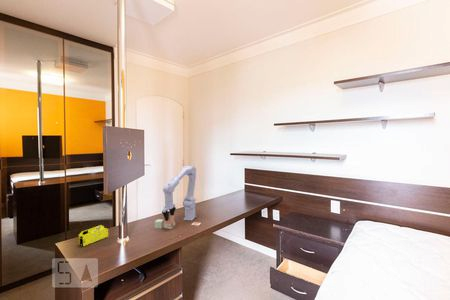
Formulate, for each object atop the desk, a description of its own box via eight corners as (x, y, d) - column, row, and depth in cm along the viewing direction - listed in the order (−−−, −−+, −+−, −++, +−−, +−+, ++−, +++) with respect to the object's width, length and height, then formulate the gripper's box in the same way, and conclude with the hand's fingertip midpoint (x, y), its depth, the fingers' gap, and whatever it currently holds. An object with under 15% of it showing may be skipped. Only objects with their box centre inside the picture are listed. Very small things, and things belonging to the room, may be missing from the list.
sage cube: (157, 225, 168) (157, 219, 168) (163, 225, 168) (163, 219, 167) (154, 228, 163) (154, 221, 163) (161, 228, 163) (161, 221, 162)
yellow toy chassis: (103, 235, 151) (103, 224, 151) (108, 237, 149) (108, 225, 148) (78, 245, 137) (78, 232, 137) (83, 247, 135) (83, 234, 134)
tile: (194, 222, 173) (193, 221, 173) (201, 223, 171) (201, 222, 171) (191, 224, 168) (191, 224, 168) (198, 225, 167) (198, 224, 167)
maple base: (168, 225, 169) (168, 220, 169) (175, 226, 167) (175, 221, 167) (163, 228, 164) (163, 223, 163) (170, 229, 161) (170, 224, 161)
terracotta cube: (168, 221, 168) (168, 214, 168) (174, 221, 167) (174, 215, 166) (164, 223, 163) (164, 217, 163) (170, 224, 162) (170, 217, 162)
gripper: (169, 198, 172) (169, 215, 173) (158, 203, 159) (159, 221, 159) (177, 198, 170) (177, 215, 171) (167, 204, 157) (167, 222, 157)
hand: (169, 218), depth 165 cm, fingers open, 7 cm apart
